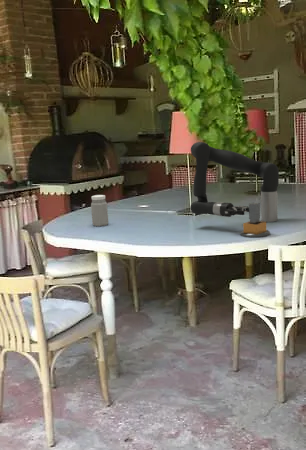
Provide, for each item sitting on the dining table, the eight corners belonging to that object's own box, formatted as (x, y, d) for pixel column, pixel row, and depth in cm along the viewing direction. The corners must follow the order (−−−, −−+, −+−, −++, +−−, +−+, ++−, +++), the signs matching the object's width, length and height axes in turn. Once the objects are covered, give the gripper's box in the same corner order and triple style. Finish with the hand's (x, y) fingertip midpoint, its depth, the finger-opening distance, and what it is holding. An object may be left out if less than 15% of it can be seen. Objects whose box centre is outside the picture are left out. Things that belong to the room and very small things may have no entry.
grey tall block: (249, 232, 274) (248, 203, 271) (253, 230, 277) (253, 202, 274) (256, 233, 271) (255, 204, 269) (260, 231, 274) (259, 203, 271)
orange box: (234, 235, 274) (234, 223, 273) (250, 230, 285) (250, 218, 284) (259, 238, 264) (259, 226, 263) (275, 233, 274) (275, 221, 273)
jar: (98, 223, 331) (96, 194, 327) (111, 223, 326) (109, 194, 323) (89, 226, 322) (87, 197, 319) (103, 226, 318) (100, 197, 314)
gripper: (214, 204, 280) (240, 206, 269) (230, 200, 290) (256, 202, 279) (215, 218, 281) (241, 221, 270) (231, 213, 291) (256, 216, 280)
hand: (248, 211), depth 275 cm, fingers open, 8 cm apart
